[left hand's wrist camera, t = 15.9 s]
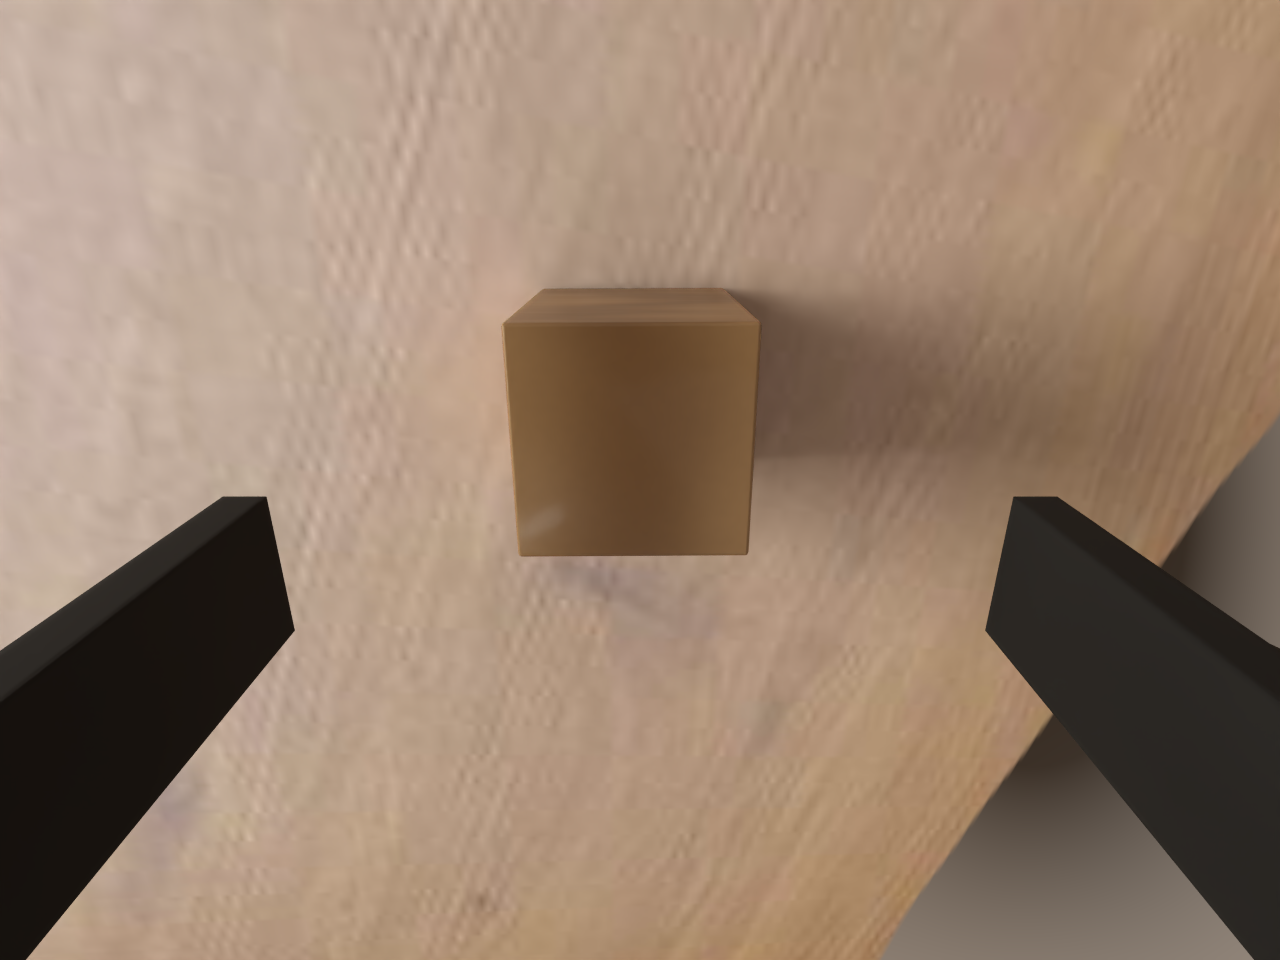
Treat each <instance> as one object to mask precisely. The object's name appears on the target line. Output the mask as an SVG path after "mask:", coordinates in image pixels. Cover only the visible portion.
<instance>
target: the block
mask: <svg viewBox="0 0 1280 960" xmlns="http://www.w3.org/2000/svg"><path fill="white" fill-rule="evenodd" d="M761 326H762V325H761V322H759V321H758V320H757V319H756V318H755V317H754V316H753V315H752V314H751V313H750V312H749V311H747V310H746V309H745V308H744V307H743V306H742V305H741V304H740V303H739V302H738V301H736V300H735V299H734V298H733V297H732V296H731V295H730V294H729V293H728V292H727V291H725V290H724V289H723V288H651V289H543V290H542V291H540V292H539V293H538V294H537V295H536V296H534V297H533V298H532V299H531V300H530V301H529V302H527V303H526V304H525V305H524V306H523V307H522V308H520V309H519V310H518V311H517V312H516V313H514V314H513V315H512V316H511V317H510V318H509V319H507V320H506V321H505V322H504V323H503V324H502V326H501V328H502V341H503V354H504V367H505V381H506V394H507V407H508V421H509V434H510V447H511V461H512V474H513V487H514V500H515V514H516V527H517V540H518V553H519V555H520V556H670V555H747V554H748V550H749V533H750V515H751V498H752V481H753V464H754V447H755V429H756V412H757V395H758V378H759V361H760V343H761Z"/></svg>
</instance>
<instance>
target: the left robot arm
mask: <svg viewBox="0 0 1280 960" xmlns="http://www.w3.org/2000/svg"><path fill="white" fill-rule="evenodd" d="M294 631H295V629H294V625H293V620H292V615H291V611H290V606H289V601H288V596H287V592H286V587H285V582H284V577H283V573H282V568H281V563H280V558H279V554H278V549H277V544H276V540H275V535H274V530H273V525H272V521H271V516H270V511H269V506H268V502H267V497H222V498H220V499H219V500H217V501H216V502H214V503H213V504H212V505H210V506H209V507H207V508H206V509H204V510H203V511H201V512H200V513H199V514H197V515H196V516H194V517H193V518H191V519H190V520H188V521H187V522H186V523H184V524H183V525H181V526H180V527H178V528H177V529H175V530H174V531H173V532H171V533H170V534H168V535H167V536H165V537H164V538H162V539H161V540H160V541H158V542H157V543H155V544H154V545H152V546H151V547H149V548H148V549H147V550H145V551H144V552H142V553H141V554H139V555H138V556H136V557H135V558H134V559H132V560H131V561H129V562H128V563H126V564H125V565H123V566H122V567H121V568H119V569H118V570H116V571H115V572H113V573H112V574H110V575H109V576H108V577H106V578H105V579H103V580H102V581H100V582H99V583H97V584H96V585H95V586H93V587H92V588H90V589H89V590H87V591H86V592H84V593H83V594H82V595H80V596H79V597H77V598H76V599H74V600H73V601H71V602H70V603H69V604H67V605H66V606H64V607H63V608H61V609H60V610H58V611H57V612H56V613H54V614H53V615H51V616H50V617H48V618H47V619H45V620H44V621H43V622H41V623H40V624H38V625H37V626H35V627H34V628H32V629H31V630H30V631H28V632H27V633H25V634H24V635H22V636H21V637H19V638H18V639H17V640H15V641H14V642H12V643H11V644H9V645H8V646H6V647H5V648H4V649H2V650H1V651H0V960H26V959H27V958H28V956H29V955H30V954H31V953H32V952H33V950H34V949H35V948H36V947H37V945H38V944H39V943H40V942H41V941H42V939H43V938H44V937H45V936H46V934H47V933H48V932H49V931H50V930H51V928H52V927H53V926H54V925H55V923H56V922H57V921H58V920H59V919H60V917H61V916H62V915H63V914H64V912H65V911H66V910H67V909H68V908H69V906H70V905H71V904H72V903H73V901H74V900H75V899H76V898H77V896H78V895H79V894H80V893H81V892H82V890H83V889H84V888H85V887H86V885H87V884H88V883H89V882H90V881H91V879H92V878H93V877H94V876H95V874H96V873H97V872H98V871H99V870H100V868H101V867H102V866H103V865H104V863H105V862H106V861H107V860H108V859H109V857H110V856H111V855H112V854H113V852H114V851H115V850H116V849H117V848H118V846H119V845H120V844H121V843H122V841H123V840H124V839H125V838H126V836H127V835H128V834H129V833H130V832H131V830H132V829H133V828H134V827H135V825H136V824H137V823H138V822H139V821H140V819H141V818H142V817H143V816H144V814H145V813H146V812H147V811H148V810H149V808H150V807H151V806H152V805H153V803H154V802H155V801H156V800H157V799H158V797H159V796H160V795H161V794H162V792H163V791H164V790H165V789H166V788H167V786H168V785H169V784H170V783H171V781H172V780H173V779H174V778H175V776H176V775H177V774H178V773H179V772H180V770H181V769H182V768H183V767H184V765H185V764H186V763H187V762H188V761H189V759H190V758H191V757H192V756H193V754H194V753H195V752H196V751H197V750H198V748H199V747H200V746H201V745H202V743H203V742H204V741H205V740H206V739H207V737H208V736H209V735H210V734H211V732H212V731H213V730H214V729H215V728H216V726H217V725H218V724H219V723H220V721H221V720H222V719H223V718H224V716H225V715H226V714H227V713H228V712H229V710H230V709H231V708H232V707H233V705H234V704H235V703H236V702H237V701H238V699H239V698H240V697H241V696H242V694H243V693H244V692H245V691H246V690H247V688H248V687H249V686H250V685H251V683H252V682H253V681H254V680H255V679H256V677H257V676H258V675H259V674H260V672H261V671H262V670H263V669H264V668H265V666H266V665H267V664H268V663H269V661H270V660H271V659H272V658H273V656H274V655H275V654H276V653H277V652H278V650H279V649H280V648H281V647H282V645H283V644H284V643H285V642H286V641H287V639H288V638H289V637H290V636H291V634H292V633H293V632H294ZM985 631H986V632H987V633H988V634H989V636H990V637H991V638H992V639H993V641H994V642H995V643H996V644H997V645H998V647H999V648H1000V649H1001V650H1002V652H1003V653H1004V654H1005V655H1006V656H1007V658H1008V659H1009V660H1010V661H1011V663H1012V664H1013V665H1014V666H1015V668H1016V669H1017V670H1018V671H1019V672H1020V674H1021V675H1022V676H1023V677H1024V679H1025V680H1026V681H1027V682H1028V683H1029V685H1030V686H1031V687H1032V688H1033V690H1034V691H1035V692H1036V693H1037V694H1038V696H1039V697H1040V698H1041V699H1042V701H1043V702H1044V703H1045V704H1046V705H1047V707H1048V708H1049V709H1050V710H1051V712H1052V713H1053V714H1054V715H1055V716H1056V718H1057V719H1058V720H1059V721H1060V723H1061V724H1062V725H1063V726H1064V727H1065V729H1066V730H1067V731H1068V732H1069V734H1070V735H1071V736H1072V737H1073V739H1074V740H1075V741H1076V742H1077V743H1078V745H1079V746H1080V747H1081V748H1082V750H1083V751H1084V752H1085V753H1086V754H1087V756H1088V757H1089V758H1090V759H1091V761H1092V762H1093V763H1094V764H1095V765H1096V767H1097V768H1098V769H1099V770H1100V772H1101V773H1102V774H1103V775H1104V776H1105V778H1106V779H1107V780H1108V781H1109V783H1110V784H1111V785H1112V786H1113V787H1114V789H1115V790H1116V791H1117V792H1118V794H1119V795H1120V796H1121V797H1122V799H1123V800H1124V801H1125V802H1126V803H1127V805H1128V806H1129V807H1130V808H1131V810H1132V811H1133V812H1134V813H1135V814H1136V816H1137V817H1138V818H1139V819H1140V821H1141V822H1142V823H1143V824H1144V825H1145V827H1146V828H1147V829H1148V830H1149V832H1150V833H1151V834H1152V835H1153V836H1154V838H1155V839H1156V840H1157V841H1158V843H1159V844H1160V845H1161V846H1162V847H1163V849H1164V850H1165V851H1166V852H1167V854H1168V855H1169V856H1170V857H1171V859H1172V860H1173V861H1174V862H1175V863H1176V865H1177V866H1178V867H1179V868H1180V870H1181V871H1182V872H1183V873H1184V874H1185V876H1186V877H1187V878H1188V879H1189V881H1190V882H1191V883H1192V884H1193V885H1194V887H1195V888H1196V889H1197V890H1198V892H1199V893H1200V894H1201V895H1202V896H1203V898H1204V899H1205V900H1206V901H1207V903H1208V904H1209V905H1210V906H1211V907H1212V909H1213V910H1214V911H1215V912H1216V914H1217V915H1218V916H1219V917H1220V919H1221V920H1222V921H1223V922H1224V923H1225V925H1226V926H1227V927H1228V928H1229V930H1230V931H1231V932H1232V933H1233V934H1234V936H1235V937H1236V938H1237V939H1238V941H1239V942H1240V943H1241V944H1242V945H1243V947H1244V948H1245V949H1246V950H1247V952H1248V953H1249V954H1250V955H1251V956H1252V958H1253V959H1254V960H1280V648H1278V647H1275V646H1273V645H1271V644H1269V643H1268V642H1266V641H1265V640H1263V639H1262V638H1261V637H1259V636H1258V635H1256V634H1255V633H1253V632H1252V631H1250V630H1249V629H1247V628H1246V627H1245V626H1243V625H1242V624H1240V623H1239V622H1237V621H1236V620H1234V619H1233V618H1232V617H1230V616H1229V615H1227V614H1226V613H1224V612H1223V611H1221V610H1220V609H1219V608H1217V607H1216V606H1214V605H1213V604H1211V603H1210V602H1209V601H1207V600H1206V599H1204V598H1203V597H1201V596H1200V595H1198V594H1197V593H1196V592H1194V591H1193V590H1191V589H1190V588H1188V587H1187V586H1185V585H1184V584H1182V583H1181V582H1180V581H1178V580H1177V579H1175V578H1174V577H1172V576H1171V575H1170V574H1168V573H1167V572H1165V571H1164V570H1162V569H1161V568H1159V567H1158V566H1157V565H1155V564H1154V563H1152V562H1151V561H1149V560H1148V559H1146V558H1145V557H1144V556H1142V555H1141V554H1139V553H1138V552H1136V551H1135V550H1133V549H1132V548H1131V547H1129V546H1128V545H1126V544H1125V543H1123V542H1122V541H1120V540H1119V539H1118V538H1116V537H1115V536H1113V535H1112V534H1110V533H1109V532H1107V531H1106V530H1105V529H1103V528H1102V527H1100V526H1099V525H1097V524H1096V523H1094V522H1093V521H1092V520H1090V519H1089V518H1087V517H1086V516H1084V515H1083V514H1081V513H1080V512H1079V511H1077V510H1076V509H1074V508H1073V507H1071V506H1070V505H1068V504H1067V503H1066V502H1064V501H1063V500H1061V499H1060V498H1058V497H1013V502H1012V506H1011V511H1010V516H1009V521H1008V525H1007V530H1006V535H1005V540H1004V544H1003V549H1002V554H1001V558H1000V563H999V568H998V573H997V577H996V582H995V587H994V592H993V596H992V601H991V606H990V611H989V615H988V620H987V625H986V629H985Z"/></svg>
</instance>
